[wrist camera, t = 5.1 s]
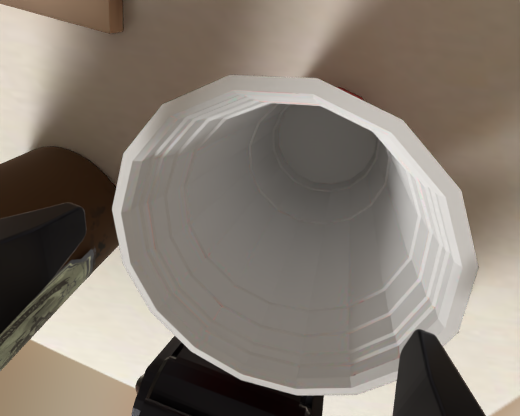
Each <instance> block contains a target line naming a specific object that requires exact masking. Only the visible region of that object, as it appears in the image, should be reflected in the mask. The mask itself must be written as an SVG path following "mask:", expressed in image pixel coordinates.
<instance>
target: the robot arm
mask: <svg viewBox="0 0 520 416" xmlns="http://www.w3.org/2000/svg"><path fill="white" fill-rule="evenodd" d="M85 235H86V221H85V211H84V209H83V208H82V207H81V206H78V205H76V204H73V203H63V204H59V205H55V206H51V207H47V208H43V209H38V210H34V211H30V212H26V213H22V214H18V215H14V216H10V217H6V218H1V219H0V335H1V334H2V332H3V331H4V330H5V329H6V328H7V327H8V326H9V325H10V324H11V323H12V322H13V321H14V320H15V319H16V318H17V317H18V316H19V315H20V314H21V312H22V311H23V310H24V309H25V308H26V307H27V306H28V305H29V304H30V303H31V302H32V301H33V300H34V299H35V298H36V297H37V296H38V295H39V293H40V292H41V291H42V290H43V289H44V288H45V287H46V286H47V285H48V284H49V283H50V281H51V280H52V279H53V278H54V277H55V275H56V274H57V273H58V271H59V270H60V269H61V268H62V266H63V265H64V264H65V262H66V261H67V260H68V259H69V257H70V256H71V255H72V253H73V252H74V251H75V249H76V248H77V247H78V246H79V244H80V243H81V242H82V240H83V239H84V237H85ZM136 391H137V397H136V399H135V403H134V406H133V411H132V416H322V410H323V398H324V395H294V394H290V393H286V392H283V391H279V390H275V389H272V388H268V387H265V386H261V385H257V384H254V383H250V382H246V381H243V380H240V379H238V378H237V377H235V376H233V375H231V374H230V373H228V372H226V371H224V370H223V369H221V368H219V367H217V366H216V365H214V364H212V363H210V362H209V361H207V360H205V359H203V358H202V357H200V356H198V355H196V354H195V353H193V352H191V351H190V350H189V349H188V348H187V347H186V346H185V345H184V344H183V343H182V342H181V341H180V340H179V339H178V338H177V337H176V336H174V337H173V338H172V340H171V341H170V342H169V343H168V344H167V345H166V347H165V348H164V349H163V350H162V351H161V352H160V354H159V355H158V356H157V357H156V358H155V359H154V361H153V362H152V363H151V364H150V365H149V366H148V368H147V369H146V371H145V374H143V375H142V376H141V377H140V378H139V379H138V381H137V383H136ZM393 416H486V415H485V414H484V412H483V410H482V409H481V407H480V406H479V404H478V402H477V401H476V399H475V398H474V396H473V394H472V393H471V391H470V390H469V388H468V386H467V385H466V383H465V381H464V380H463V378H462V377H461V375H460V373H459V372H458V370H457V369H456V367H455V365H454V364H453V362H452V361H451V359H450V357H449V356H448V354H447V353H446V351H445V349H444V348H443V346H442V345H441V343H440V341H439V340H438V338H437V337H436V336H435V335H434V334H432V333H430V332H427V331H424V330H422V329H416V330H415V331H414V332H413V334H412V335H411V337H410V338H409V340H408V341H407V343H406V344H405V346H404V347H403V349H402V351H401V354H400V358H399V367H398V375H397V383H396V392H395V400H394V408H393Z"/></svg>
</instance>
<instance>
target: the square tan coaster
mask: <svg viewBox="0 0 520 416" xmlns="http://www.w3.org/2000/svg"><path fill="white" fill-rule="evenodd" d="M0 4H4V5H7V6H11V7H15V8H18V9H22V10H25V11H29V12H33V13H36V14H40V15H44V16H47V17H51V18H55V19H58V20H62V21H65V22H69V23H73V24H76V25H80V26H84V27H87V28H91V29H94V30H98V31H102V32H105V33H109V34H111V33H117V32H122V31H123V1H122V0H0Z"/></svg>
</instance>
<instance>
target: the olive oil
mask: <svg viewBox="0 0 520 416" xmlns="http://www.w3.org/2000/svg"><path fill="white" fill-rule="evenodd" d="M115 192H116V189H115V187H114V186H113V184H112V183H111V182H110V180H109V179H108V178H107V177H106V176H105V174H104V173H103V172H102V171H101V170H100V169H99V168H97V167H96V166H95V165H94V164H93V163H91V162H90V161H89V160H87V159H86V158H84V157H82V156H80V155H79V154H77V153H75V152H72V151H70V150H67V149H64V148H59V147H42V148H38V149H35V150H32V151H30V152H28V153H25V154H23V155H21V156H18V157H16V158H14V159H11V160H9V161H7V162H4V163H2V164H0V219H1V218H6V217H10V216H14V215H18V214H22V213H26V212H30V211H34V210H38V209H43V208H47V207H51V206H55V205H59V204H63V203H73V204H76V205H78V206H81V207H82V208H83V209H84V211H85V221H86V235H85V237H84V239H83V240H82V242H81V243H80V244H79V246H78V247H77V248H76V249H75V251H74V252H73V253H72V255H71V256H70V257H69V259H68V260H67V261H66V262H65V264H64V265H63V266H62V268H61V269H60V270H59V271H58V273H57V274H56V275H55V277H54V278H53V279H52V280H51V281H50V283H49V284H48V285H47V286H46V287H45V288H44V289H43V290H42V291H41V292H40V293H39V295H38V296H37V297H36V298H35V299H34V300H33V301H32V302H31V303H30V304H29V305H28V306H27V307H26V308H25V309H24V310H23V311H22V312H21V314H20V315H19V316H18V317H17V318H16V319H15V320H14V321H13V322H12V323H11V324H10V325H9V326H8V327H7V328H6V329H5V330H4V331H3V332H2V334H1V335H0V371H1V370H2V369H3V368H4V367H5V366H6V365H7V363H8V362H9V361H10V360H11V359H12V358H13V357H14V356H15V355H16V354H17V353H18V352H19V350H20V349H21V348H22V347H23V346H24V345H25V344H26V343H27V342H28V341H29V340H30V339H31V338H32V336H33V335H34V334H35V333H36V332H37V331H38V330H39V329H40V328H41V327H42V326H43V325H44V324H45V322H46V321H47V320H48V319H49V318H50V317H51V316H52V315H53V314H54V313H55V312H56V311H57V310H58V309H59V307H60V306H61V305H62V304H63V303H64V302H65V301H66V300H67V299H68V298H69V297H70V296H71V295H72V294H73V292H74V291H75V290H76V289H77V288H78V287H79V286H80V285H81V284H82V283H83V282H84V281H85V280H86V279H87V278H88V277H89V276H90V275H91V273H92V272H93V271H94V270H95V269H96V268H97V267H98V266H99V265H100V264H101V263H102V262H103V261H104V260H105V259H106V258H107V257H108V256H109V255H110V254H111V253H112V252H113V251H114V250H115V249H116V247H117V246H118V245H119V242H118V237H117V232H116V227H115V222H114V217H113V212H112V206H113V201H114V197H115Z"/></svg>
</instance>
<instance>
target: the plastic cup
mask: <svg viewBox="0 0 520 416" xmlns="http://www.w3.org/2000/svg"><path fill="white" fill-rule="evenodd" d="M112 212H113V217H114V222H115V227H116V232H117V237H118V242H119V247H120V252H121V257H122V262H123V265H124V267H125V268H126V270H127V272H128V274H129V275H130V277H131V279H132V281H133V282H134V284H135V286H136V288H137V289H138V291H139V293H140V295H141V296H142V298H143V300H144V301H145V303H146V305H147V307H148V308H149V310H150V312H151V313H152V314H153V315H154V316H155V317H156V318H157V319H158V320H159V321H160V322H161V323H162V324H163V325H164V326H165V327H166V328H168V329H169V330H170V331H171V332H172V333H173V334H174V335H175V336H176V337H177V338H178V339H179V340H180V341H181V342H182V343H183V344H184V345H185V346H186V347H187V348H188V349H189V350H190V351H191V352H193V353H195V354H196V355H198V356H200V357H202V358H203V359H205V360H207V361H209V362H210V363H212V364H214V365H216V366H217V367H219V368H221V369H223V370H224V371H226V372H228V373H230V374H231V375H233V376H235V377H237V378H238V379H240V380H243V381H246V382H250V383H254V384H257V385H261V386H265V387H268V388H272V389H275V390H279V391H283V392H286V393H290V394H294V395H358V394H361V393H364V392H366V391H369V390H372V389H375V388H378V387H380V386H383V385H386V384H389V383H392V382H395V381H397V375H398V367H399V358H400V354H401V351H402V349H403V347H404V346H405V344H406V343H407V341H408V340H409V338H410V337H411V335H412V334H413V332H414V331H415V330H416V329H422V330H424V331H427V332H430V333H432V334H434V335H435V336H436V337H437V338H438V340H439V341H440V343H441V345H442V346H444V345H445V344H446V343H447V342H448V341H450V340H451V339H452V338H453V337H454V336H455V335H456V334H457V333H458V332H459V329H460V325H461V322H462V319H463V316H464V313H465V309H466V306H467V303H468V300H469V297H470V294H471V290H472V287H473V284H474V281H475V278H476V274H477V271H478V268H479V267H478V262H477V258H476V253H475V249H474V244H473V240H472V235H471V231H470V227H469V222H468V218H467V213H466V209H465V204H464V200H463V195H462V191H461V189H460V188H459V187H458V186H457V185H456V183H455V182H454V181H453V180H452V178H451V177H450V176H449V175H448V174H447V172H446V171H445V170H444V169H443V168H442V166H441V165H440V164H439V163H438V162H437V160H436V159H435V158H434V157H433V156H432V154H431V153H430V152H429V151H428V150H427V148H426V147H425V146H424V145H423V144H422V142H421V141H420V140H419V139H418V138H417V136H416V135H415V134H414V133H413V132H412V130H411V129H410V128H409V127H408V126H407V124H406V123H405V122H404V121H403V120H402V119H400V118H398V117H396V116H394V115H392V114H390V113H388V112H385V111H383V110H381V109H379V108H377V107H375V106H373V105H371V104H369V103H367V102H365V101H364V100H363V98H362V97H359V96H357V95H355V94H353V93H351V92H349V91H347V90H345V89H343V88H341V87H334V86H332V85H330V84H328V83H326V82H324V81H322V80H320V79H318V78H301V77H276V76H250V75H228V76H226V77H224V78H221V79H219V80H217V81H214V82H212V83H210V84H208V85H205V86H203V87H201V88H198V89H196V90H194V91H192V92H189V93H187V94H185V95H182V96H180V97H178V98H176V99H173V100H171V101H169V102H166V103H164V104H162V105H161V107H160V108H159V109H158V110H157V112H156V113H155V114H154V115H153V117H152V118H151V119H150V120H149V122H148V123H147V124H146V125H145V127H144V128H143V129H142V131H141V132H140V133H139V134H138V136H137V137H136V138H135V139H134V141H133V142H132V143H131V144H130V146H129V147H128V148H127V149H126V151H125V152H124V153H123V158H122V162H121V167H120V172H119V177H118V182H117V187H116V192H115V197H114V201H113V206H112Z"/></svg>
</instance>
